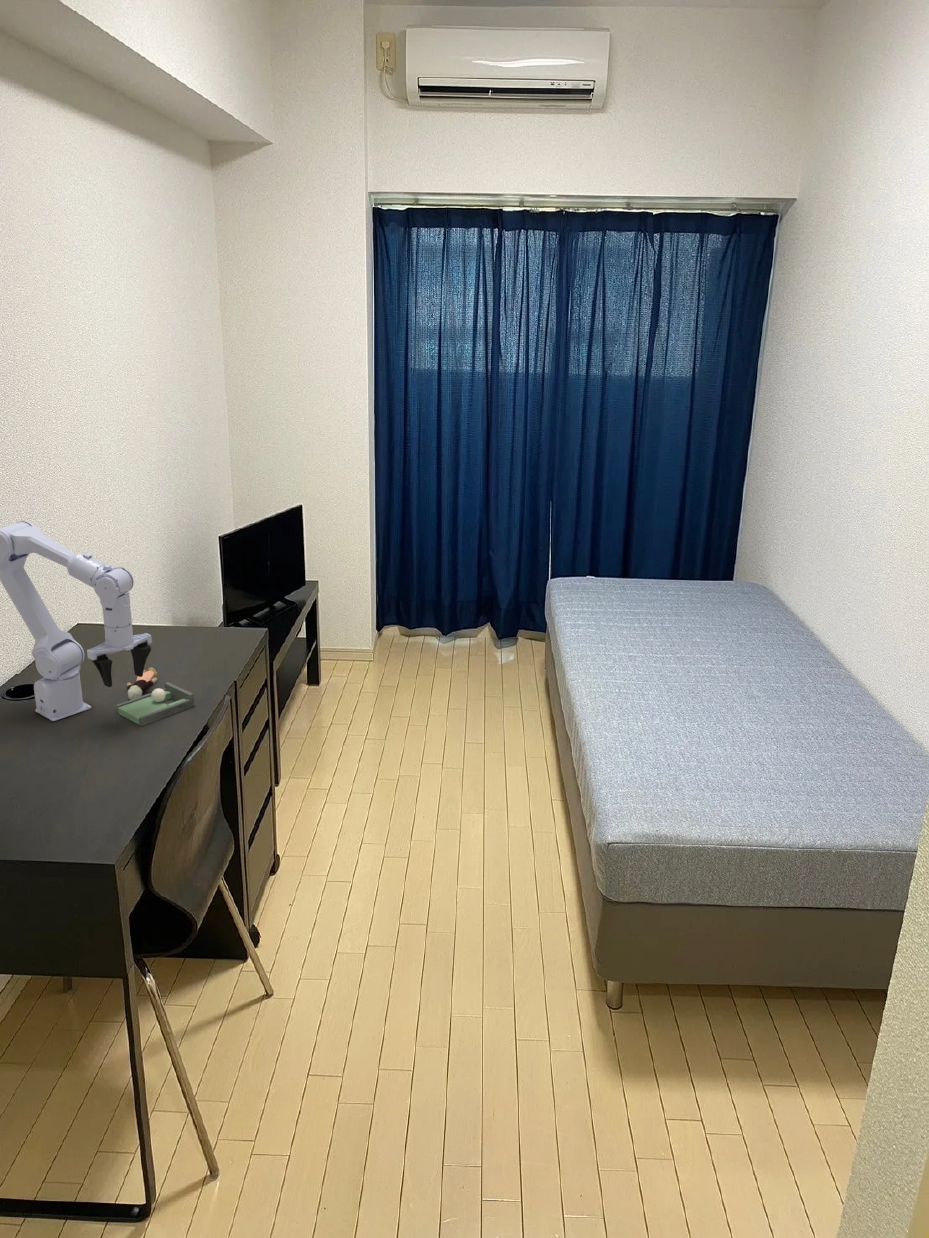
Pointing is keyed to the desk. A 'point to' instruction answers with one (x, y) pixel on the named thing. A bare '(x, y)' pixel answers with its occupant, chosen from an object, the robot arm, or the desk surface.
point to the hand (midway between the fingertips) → (123, 680)
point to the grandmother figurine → (142, 683)
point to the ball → (158, 695)
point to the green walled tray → (156, 705)
